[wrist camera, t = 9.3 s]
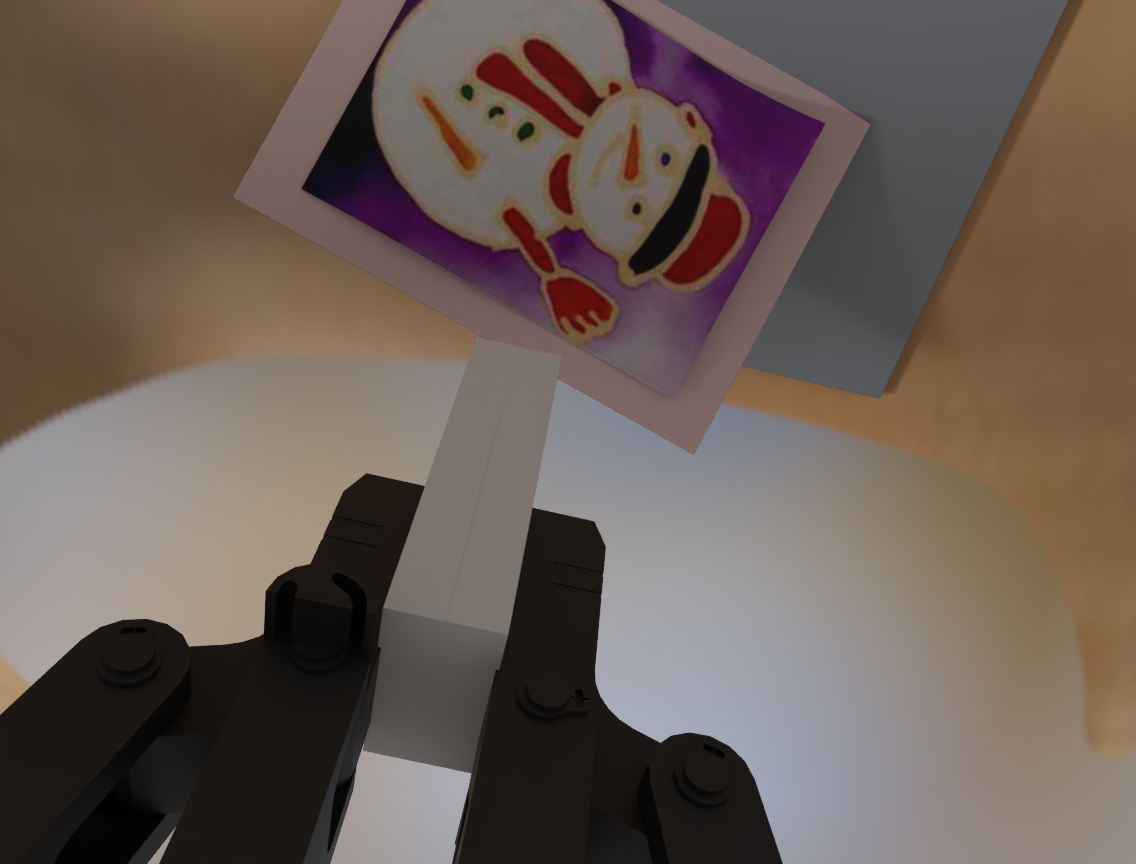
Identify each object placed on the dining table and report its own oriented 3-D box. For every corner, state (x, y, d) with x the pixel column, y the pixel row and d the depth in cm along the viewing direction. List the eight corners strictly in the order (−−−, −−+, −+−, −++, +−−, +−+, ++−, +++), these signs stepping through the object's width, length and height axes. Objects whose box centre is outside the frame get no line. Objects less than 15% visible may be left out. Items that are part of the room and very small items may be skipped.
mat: (878, 392, 36) (880, 398, 35) (447, 290, 35) (444, 295, 35) (1070, -16, 28) (1074, -13, 27) (515, -156, 27) (512, -155, 27)
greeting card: (434, -178, 26) (884, 116, 29) (427, -57, 34) (787, 170, 36) (227, 191, 26) (702, 456, 29) (265, 233, 33) (641, 441, 36)
